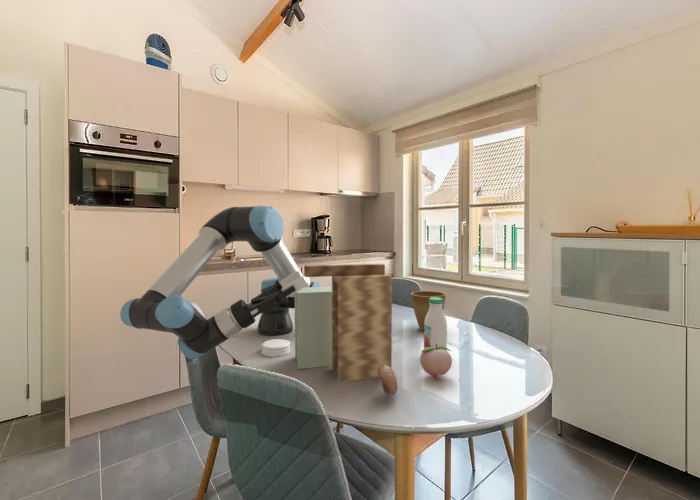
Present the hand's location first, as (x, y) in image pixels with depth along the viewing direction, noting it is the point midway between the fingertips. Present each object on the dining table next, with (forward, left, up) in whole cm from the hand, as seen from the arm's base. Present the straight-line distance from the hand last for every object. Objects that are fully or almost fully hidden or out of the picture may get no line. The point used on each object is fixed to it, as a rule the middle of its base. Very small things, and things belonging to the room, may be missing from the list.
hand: (302, 277), depth 98 cm
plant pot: (-62, +33, -30) cm, 76 cm away
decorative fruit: (-11, +38, -30) cm, 49 cm away
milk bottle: (-30, +37, -30) cm, 56 cm away
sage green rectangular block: (-13, -2, -30) cm, 33 cm away
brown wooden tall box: (-9, +15, -30) cm, 35 cm away
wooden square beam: (-7, +11, 0) cm, 13 cm away
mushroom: (+4, +26, -30) cm, 40 cm away
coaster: (-18, -18, -30) cm, 40 cm away
